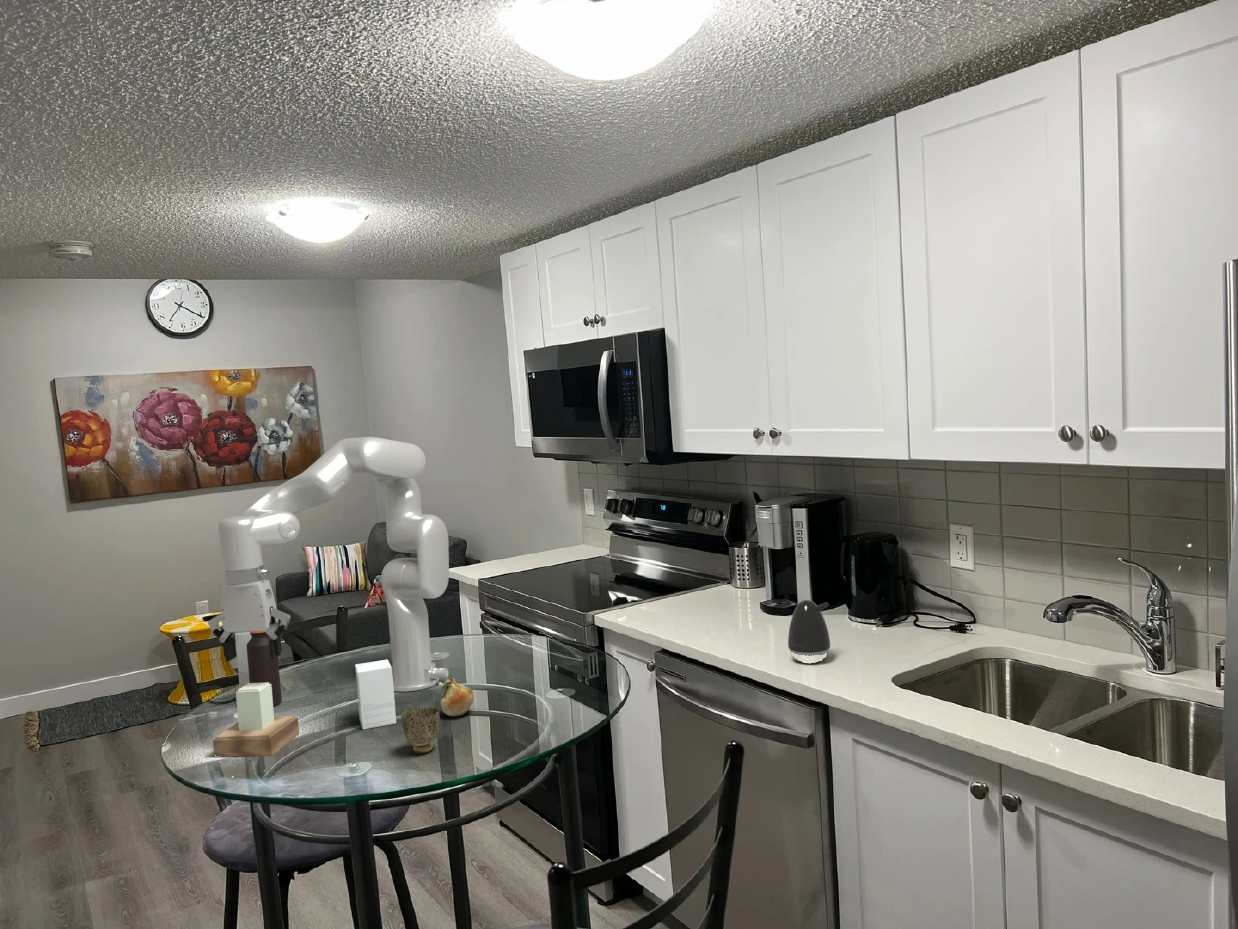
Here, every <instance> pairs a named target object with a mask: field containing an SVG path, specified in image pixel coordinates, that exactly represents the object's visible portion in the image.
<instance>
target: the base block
mask: <svg viewBox="0 0 1238 929" xmlns="http://www.w3.org/2000/svg"><path fill="white" fill-rule="evenodd" d="M299 734H300V727H299V718H298V717H296V716H293V715H292V716H291V715H290V716H274V722H273V723H272V724H270V725H269V726H268V727H266V728H265V729H263V730H249V731H239V723H238V722H236V723H235V724H233V725H232V726H231V727H229V728H227V729H226V730H224V731H223V732H221V733H220V734H218V735H216V736H215V739H213V740H212V743H213V755H214V757H215V755H216V756H242V757H266V756H267V757H271V756H273V755H275V754H276V753H277V752H278V751H279V750H281V749H283V747H285V746H286V745H287V744H288V743H290V742H291V741H292V740H294V739H295V738H296V737H297V736H299Z"/></svg>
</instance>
